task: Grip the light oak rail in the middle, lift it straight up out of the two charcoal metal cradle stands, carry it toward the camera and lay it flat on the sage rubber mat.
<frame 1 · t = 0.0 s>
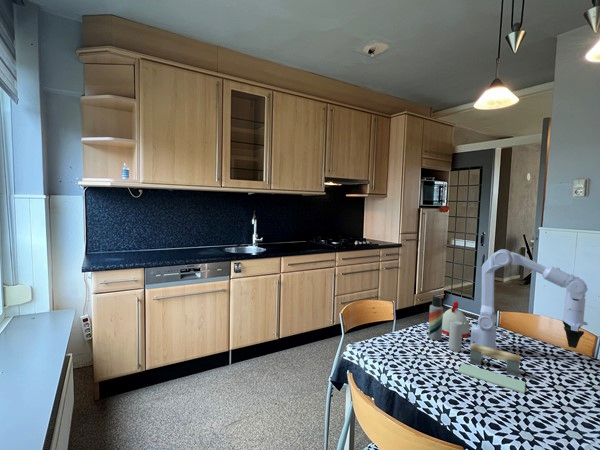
hand: (571, 343, 118), 10 cm above the table, tool pointing down, fingers open, 7 cm apart
kitchen timer: (453, 332, 153), on the table
beverage can: (454, 350, 132), on the table
cradle stands: (493, 367, 118), on the table
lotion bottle: (434, 338, 144), on the table
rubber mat: (490, 377, 111), on the table
oak rail: (494, 356, 118), point 4 cm above the table, touching cradle stands
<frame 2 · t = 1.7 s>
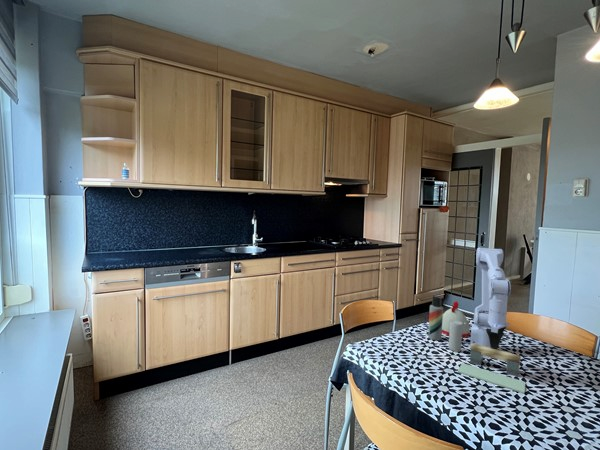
hand: (495, 345, 118), 9 cm above the table, tool pointing down, fingers open, 7 cm apart
nothing on the table moved.
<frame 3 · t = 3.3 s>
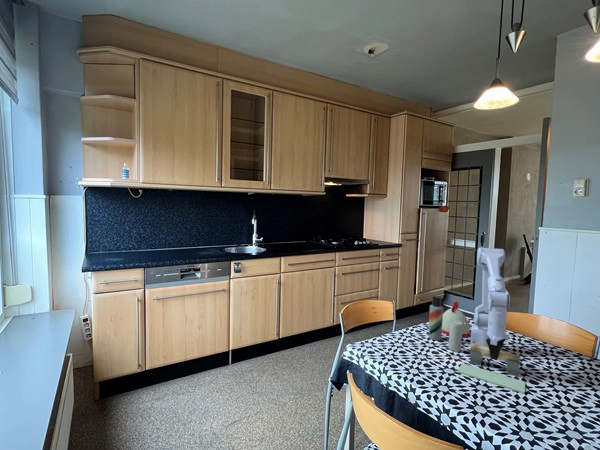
hand: (494, 357, 118), 4 cm above the table, tool pointing down, fingers closed on oak rail, 3 cm apart
oak rail: (494, 356, 118), point 4 cm above the table, touching cradle stands, gripper
everything else where it was.
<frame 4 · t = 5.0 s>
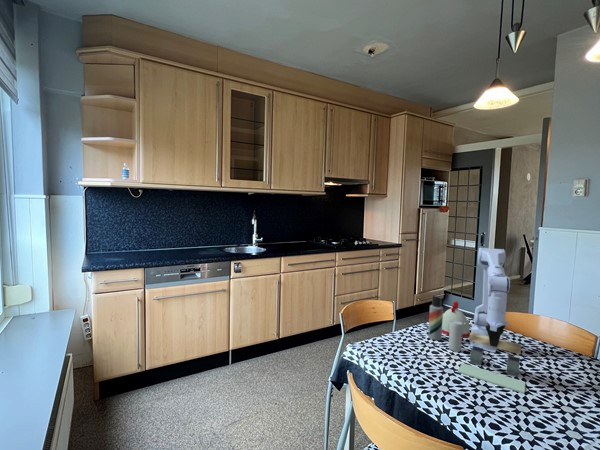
hand: (494, 344, 114), 11 cm above the table, tool pointing down, fingers closed on oak rail, 3 cm apart
oak rail: (494, 345, 114), point 10 cm above the table, touching gripper
everything else where it was.
when the fingers open (2 cm above the table, at t = 6.9 s): oak rail stays where it is, resting on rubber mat.
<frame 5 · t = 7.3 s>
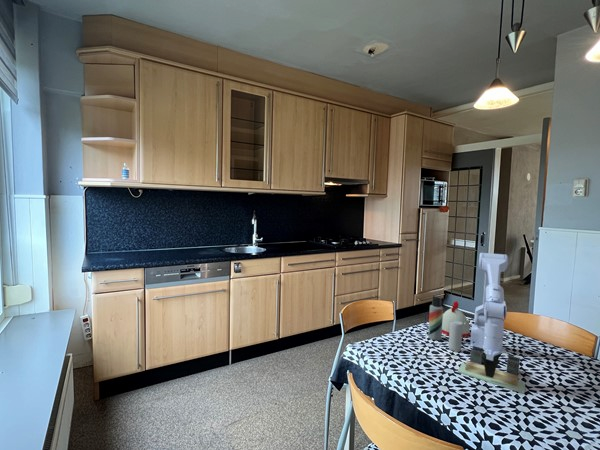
hand: (490, 372, 111), 2 cm above the table, tool pointing down, fingers open, 7 cm apart
oak rail: (490, 376, 111), resting on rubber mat
everything else where it was.
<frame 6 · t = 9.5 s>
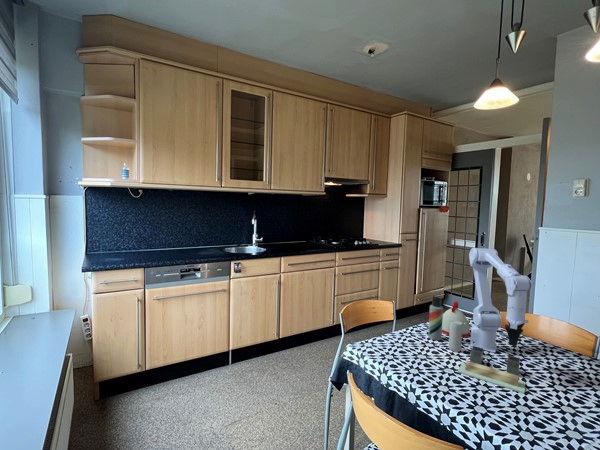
hand: (513, 341, 118), 10 cm above the table, tool pointing down, fingers open, 7 cm apart
nothing on the table moved.
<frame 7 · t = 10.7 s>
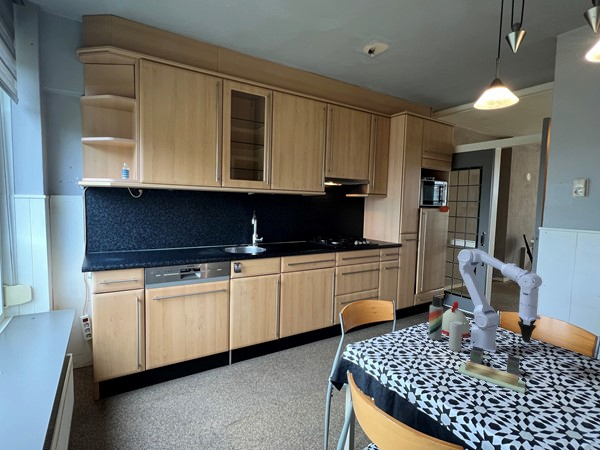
hand: (526, 337, 122), 10 cm above the table, tool pointing down, fingers open, 7 cm apart
nothing on the table moved.
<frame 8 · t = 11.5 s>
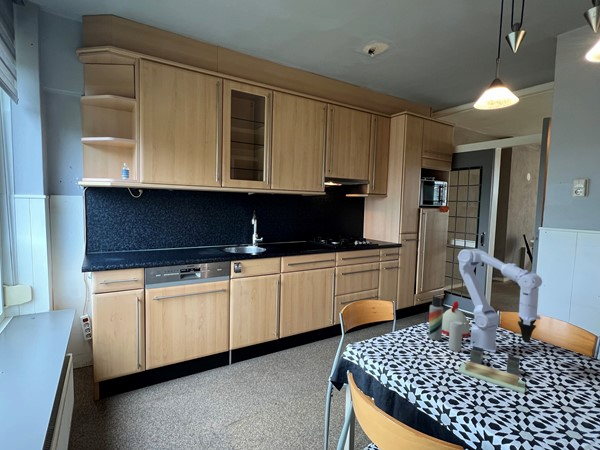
hand: (526, 337, 122), 10 cm above the table, tool pointing down, fingers open, 7 cm apart
nothing on the table moved.
at the end: oak rail 0.1 cm off-centre on the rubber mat, point 0.5 cm above the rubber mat's base; oak rail tilted 0°; the gripper is holding nothing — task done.
